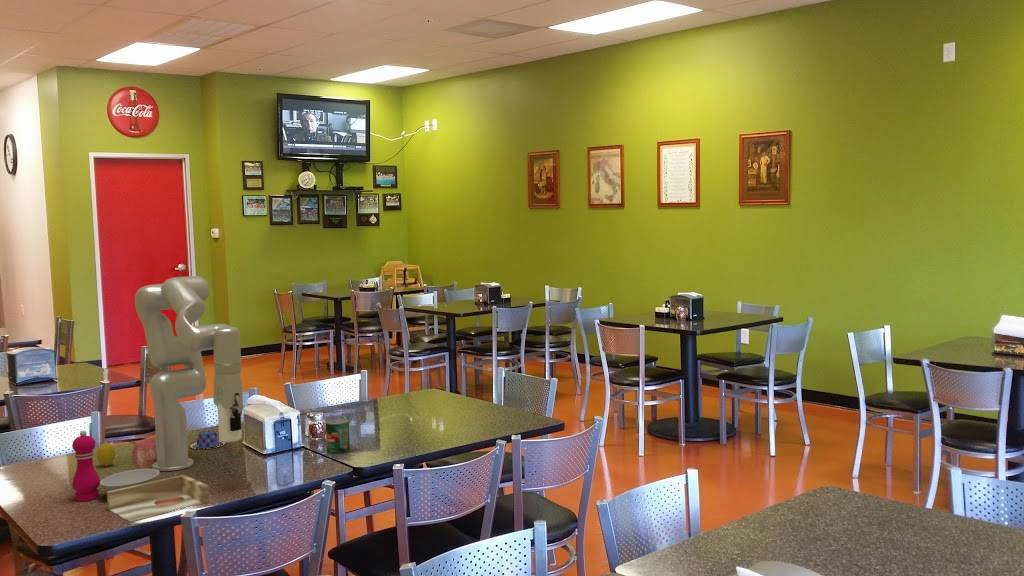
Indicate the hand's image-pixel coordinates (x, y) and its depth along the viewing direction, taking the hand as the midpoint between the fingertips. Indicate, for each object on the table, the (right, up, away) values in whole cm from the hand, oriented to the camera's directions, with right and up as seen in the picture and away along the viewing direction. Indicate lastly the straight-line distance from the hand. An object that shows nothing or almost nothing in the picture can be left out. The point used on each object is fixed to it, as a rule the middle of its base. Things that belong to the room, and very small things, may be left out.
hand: (230, 427), depth 257 cm
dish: (-29, -19, -1) cm, 35 cm away
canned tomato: (+24, -15, +40) cm, 49 cm away
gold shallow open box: (-16, -20, -14) cm, 29 cm away
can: (0, -4, 0) cm, 4 cm away
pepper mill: (-40, -20, -5) cm, 45 cm away
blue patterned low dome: (-25, -16, +53) cm, 60 cm away
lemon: (-50, -18, +28) cm, 60 cm away
